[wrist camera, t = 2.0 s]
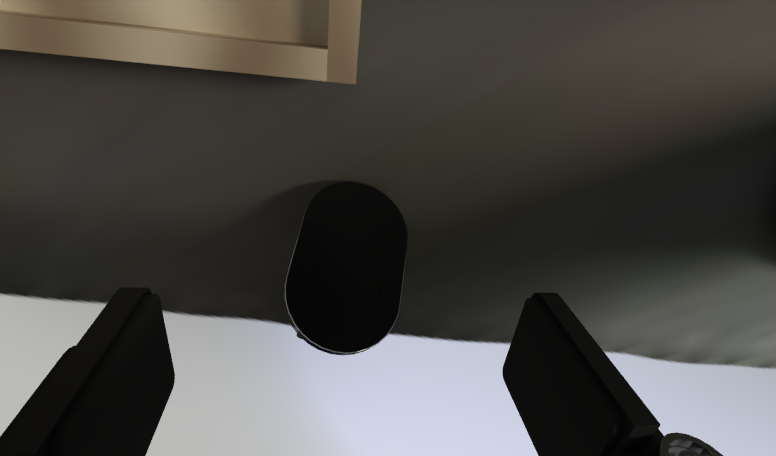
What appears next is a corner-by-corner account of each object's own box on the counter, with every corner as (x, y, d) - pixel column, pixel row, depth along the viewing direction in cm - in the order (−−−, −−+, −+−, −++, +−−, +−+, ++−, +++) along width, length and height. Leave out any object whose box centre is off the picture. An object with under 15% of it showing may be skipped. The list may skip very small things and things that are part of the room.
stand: (317, 167, 19) (269, 337, 15) (413, 200, 20) (392, 365, 16) (289, 234, 25) (250, 366, 21) (364, 257, 26) (340, 385, 22)
